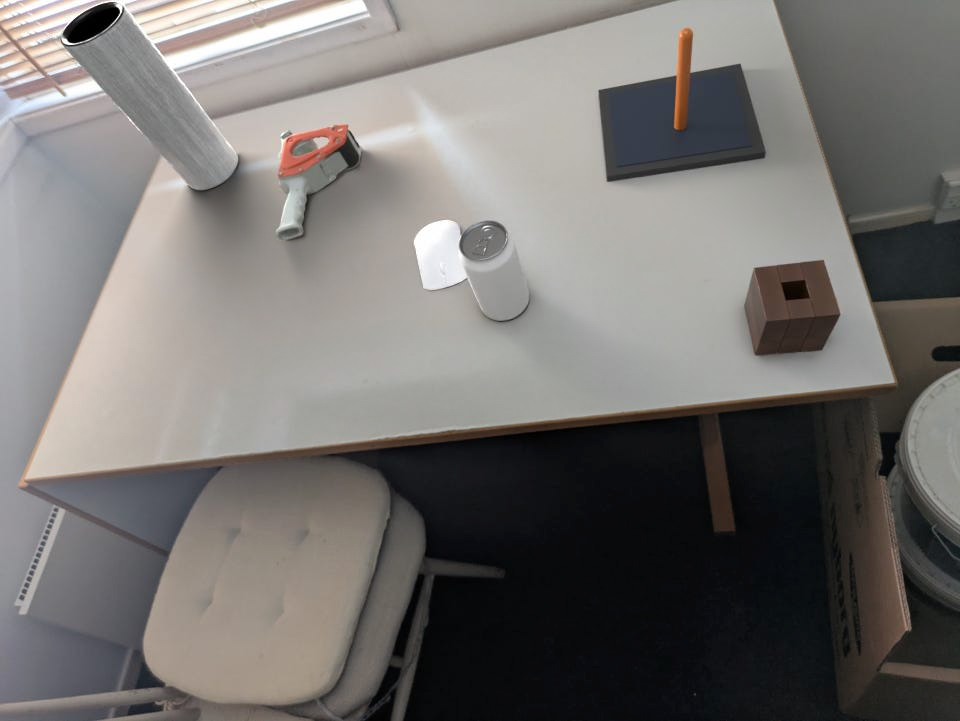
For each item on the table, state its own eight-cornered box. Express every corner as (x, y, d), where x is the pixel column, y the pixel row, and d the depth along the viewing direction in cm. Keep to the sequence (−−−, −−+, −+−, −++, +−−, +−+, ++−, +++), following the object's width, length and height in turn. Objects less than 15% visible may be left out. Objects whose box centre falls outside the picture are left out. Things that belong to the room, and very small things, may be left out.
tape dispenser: (294, 255, 91) (390, 171, 92) (274, 234, 86) (377, 147, 88) (243, 199, 99) (333, 123, 101) (222, 178, 94) (317, 98, 96)
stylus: (685, 121, 81) (692, 23, 69) (687, 129, 80) (694, 31, 68) (673, 123, 81) (678, 26, 69) (674, 131, 80) (679, 34, 69)
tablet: (739, 69, 85) (740, 62, 84) (764, 157, 76) (766, 151, 75) (598, 95, 89) (598, 89, 88) (607, 181, 81) (606, 175, 80)
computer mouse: (423, 294, 79) (417, 284, 77) (413, 230, 85) (408, 219, 83) (471, 280, 78) (467, 269, 76) (458, 216, 84) (453, 204, 82)
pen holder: (807, 298, 65) (823, 259, 59) (822, 350, 62) (841, 314, 56) (743, 305, 67) (753, 267, 61) (755, 355, 63) (766, 321, 58)
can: (537, 285, 75) (520, 221, 65) (519, 327, 72) (499, 267, 62) (491, 276, 77) (467, 213, 67) (472, 317, 75) (445, 258, 65)
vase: (209, 198, 100) (80, 52, 77) (177, 181, 105) (47, 38, 82) (249, 158, 103) (136, 6, 80) (217, 143, 107) (101, -5, 85)
